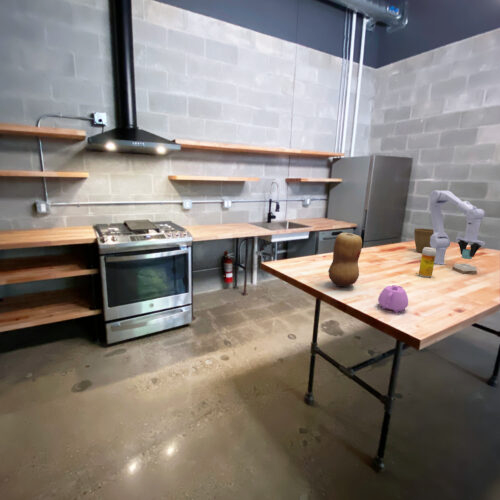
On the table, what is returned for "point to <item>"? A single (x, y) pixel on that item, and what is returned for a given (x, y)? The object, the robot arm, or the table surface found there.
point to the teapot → (393, 298)
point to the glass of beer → (427, 262)
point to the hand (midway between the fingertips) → (467, 255)
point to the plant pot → (422, 238)
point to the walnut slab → (463, 271)
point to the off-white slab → (465, 267)
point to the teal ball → (466, 254)
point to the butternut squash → (345, 259)
